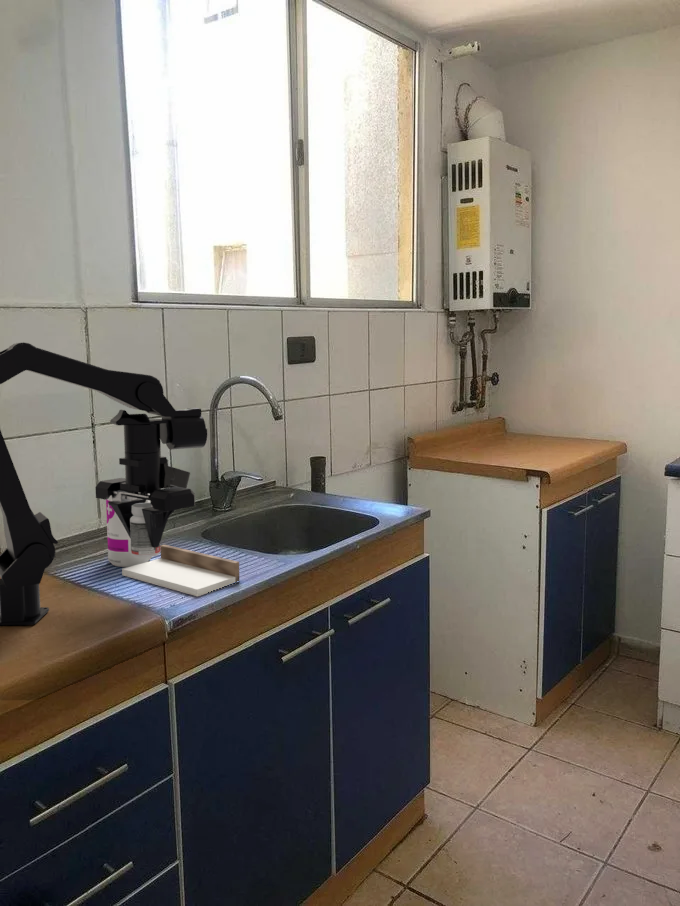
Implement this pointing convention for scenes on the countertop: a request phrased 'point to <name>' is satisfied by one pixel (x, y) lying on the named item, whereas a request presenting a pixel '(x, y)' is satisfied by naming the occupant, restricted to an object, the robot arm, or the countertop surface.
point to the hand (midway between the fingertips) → (145, 544)
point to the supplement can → (120, 541)
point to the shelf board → (186, 571)
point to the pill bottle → (141, 533)
